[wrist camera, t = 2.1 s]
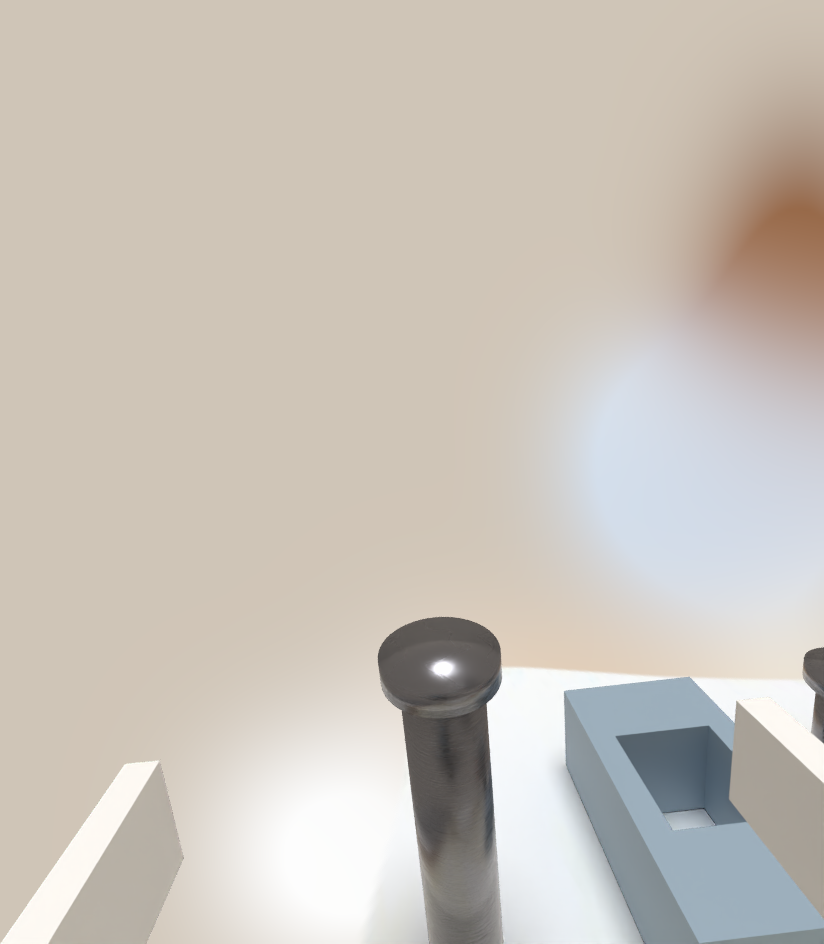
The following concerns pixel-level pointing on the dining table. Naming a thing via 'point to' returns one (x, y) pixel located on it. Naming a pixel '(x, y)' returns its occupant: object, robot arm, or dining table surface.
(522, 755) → the dining table surface
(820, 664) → the short pin
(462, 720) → the tall pin
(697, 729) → the guide block
